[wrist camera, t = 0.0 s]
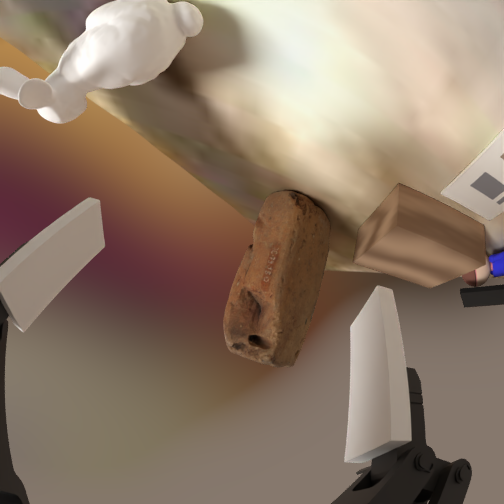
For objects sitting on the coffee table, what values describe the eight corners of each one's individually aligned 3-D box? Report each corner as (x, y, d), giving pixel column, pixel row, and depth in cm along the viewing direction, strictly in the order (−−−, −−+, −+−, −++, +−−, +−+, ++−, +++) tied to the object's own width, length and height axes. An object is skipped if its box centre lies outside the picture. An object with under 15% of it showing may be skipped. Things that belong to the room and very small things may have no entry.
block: (337, 230, 38) (300, 371, 32) (291, 228, 42) (252, 356, 36) (311, 183, 30) (259, 365, 24) (256, 187, 34) (201, 344, 28)
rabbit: (117, 69, 20) (42, 165, 16) (75, 3, 11) (-28, 96, 8) (227, 45, 16) (141, 162, 12) (188, -55, 7) (31, 17, 4)
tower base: (398, 183, 24) (396, 225, 23) (483, 225, 23) (485, 264, 22) (358, 229, 35) (352, 262, 34) (432, 256, 35) (429, 288, 33)
